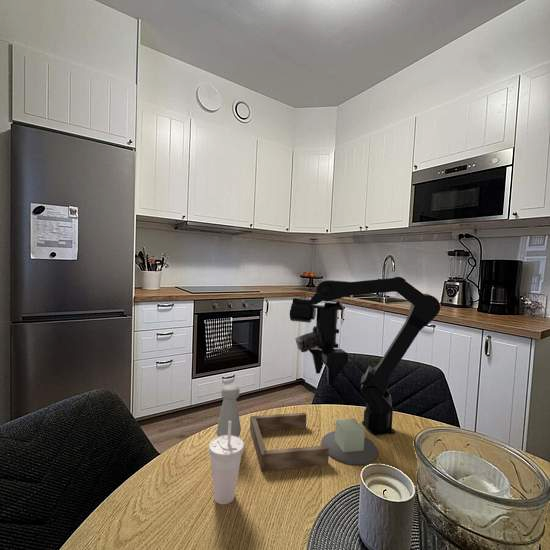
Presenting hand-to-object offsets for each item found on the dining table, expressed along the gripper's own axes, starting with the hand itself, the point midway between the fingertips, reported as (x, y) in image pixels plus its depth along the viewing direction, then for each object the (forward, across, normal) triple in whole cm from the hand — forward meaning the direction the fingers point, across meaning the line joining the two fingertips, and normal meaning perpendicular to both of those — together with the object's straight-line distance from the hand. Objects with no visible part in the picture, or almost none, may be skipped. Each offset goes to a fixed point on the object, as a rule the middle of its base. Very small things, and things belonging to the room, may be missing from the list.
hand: (323, 379), depth 87 cm
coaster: (+11, +15, +1) cm, 19 cm away
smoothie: (+11, +26, -29) cm, 41 cm away
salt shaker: (+11, +8, -27) cm, 30 cm away
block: (+10, +15, +1) cm, 18 cm away
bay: (+11, +12, -14) cm, 21 cm away
